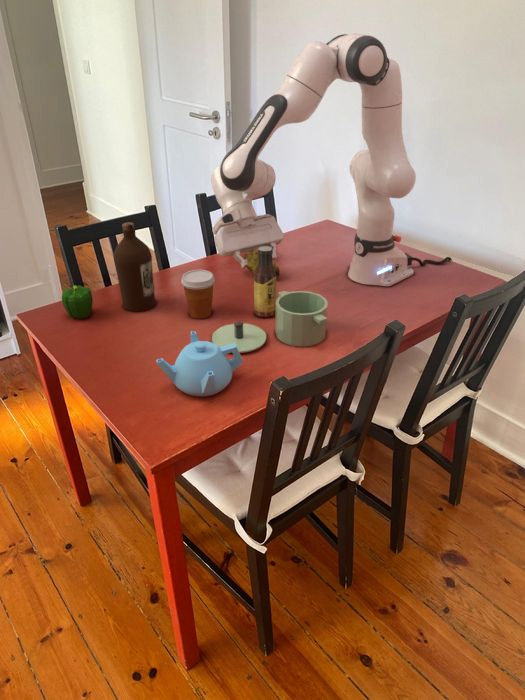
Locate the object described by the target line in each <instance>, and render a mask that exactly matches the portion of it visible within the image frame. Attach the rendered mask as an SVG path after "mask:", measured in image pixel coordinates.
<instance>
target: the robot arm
mask: <svg viewBox="0 0 525 700" xmlns="http://www.w3.org/2000/svg"><path fill="white" fill-rule="evenodd" d="M400 69H401V68H400V66H399V63H398V62H397V61H396V60H394V59H392V58H389V57H388V54H387V50H386V48H385V46H384V43H382V42H381V40H380V39H378V38H376V37H374V36H372V35H368V34H367V35H366V34H362V33H351V34H349V33H348V34H347V33H346V34H345V33H343V34H339V35H337V36H335V37H333V38H332V39H330V40H329V41H328V42H327V43H325V42H322V41H318V40H317V41H311V42H309V43H308V44H306V45H305V46H304V48H303V49H302V50H301V52H300V53H299V55H298V56H297V57H296V58H295V60H294V61H293V63H292V65H291V66H290V68H289V70H288V72H287V73H286V76H285V77H284V79H283V81H282V82H281V84H280V86H279V87H278V88H277V90H276V91H275V92H274V93H273V94H272V96H270V97H269V98H267V100H265V102H264V103H263V104H262V106H261V107H260V108H259V110H258V112H257V113H256V115H255V116H254V118H253V119H252V121H251V122H250V124H249V125H248V127H247V128H246V130H245V131H244V132H243V134H242V136H241V138H240V139H239V140H238V142H237V143H236V144H235V146H233V148H231V149H230V150H229V151H228V152H227V153H226V155H224V157H223V159H222V161H221V163H220V165H218V166H217V167H215V169H214V170H213V171H212V173H211V176H210V183H211V188H212V190H213V193H214V197H215V200H216V201H217V203H218V205H219V206H220V207H221V208H220V209H221V210H222V216H220V217H219V218H218V219H217V220H216V222H215V223H214V225H213V226H212V233H213V235H214V244H215V247H216V250H217V253H218V255H219V256H220V257H223V258H226V257H231V256H232V257H233V259H234V260H235V261H237V262H238V263H239V264H240V266H241V268H242V269H244V268H247V266H248V262H247V259H244V257H242V256H241V254H243V253H247V252H248V251H251V250H256V249H258V248H259V247H262V246H269V247H271V248H272V249H273V253H272V261H276V260H277V258H278V255H277V253H276V250H277V245H279V244H281V243H282V242H283V241H284V238H285V235H284V233H283V231H282V229H281V227H280V225H279V224H278V222H277V219H276V217H275V216H273V215H271V214H269V213H266V214H262V215H258V214H257V212H256V209H255V207H254V205H253V203H252V201H254V200H258V199H260V198H262V197H264V196H266V195H268V194H270V192H272V190H273V189H274V186H275V184H276V171H275V169H274V168H273V166H272V165H270V164H269V163H267V162H265V161H264V160H262V159H259V156H260V155H261V154H262V152H263V150H264V149H265V147H266V146H267V144H268V143H269V141H270V140H271V138H272V137H273V135H274V133H275V132H276V131H277V130H278V129H280V128H281V127H283V126H286V125H290V124H300V123H303V122H306V121H307V120H309V119H310V118H311V117H312V116H313V114H314V113H315V112H316V110H317V109H318V107H319V105H320V103H321V101H322V100H323V99H324V96H325V95H326V93H327V91H328V88H329V87H330V86H331V84H332V83H333V82H334V81H335V80H342V81H343V82H347V83H357V84H358V85H359V87H360V90H361V135H362V138H363V139H364V141H365V143H366V146H367V149H362V150H359V151H358V152H356V153H355V154H354V155H353V156H352V158H351V160H350V163H349V173H350V176H351V177H352V180H353V183H354V188H355V193H356V194H355V195H356V200H357V209H358V210H357V213H358V214H357V225H356V226H357V227H356V232H355V234H354V243H353V245H354V249H353V253H352V259H351V263H350V264H349V269H348V273H347V277H348V278H349V279H350V280H351V281H353V282H356V283H358V284H362V285H366V286H367V285H368V286H381V287H391V286H393V285H395V284H398V283H399V282H401V281H403V280H405V279H406V278H407V279H408V278H409V277H410V276H412V275H414V269H413V268H412V267H410V266H412V264H413V261H416V262H417V263H418V264H419V265H420V266H425V264H426V263H430V264H434V265H443V264H444V263H446V262H447V261H449V262H452V261H453V259H452V258H451V257H450V256H446V257H445V258H444V259H442V260H439V261H437V260H432V259H423V261H422V259H420V258H418V257H413V256H412V255H410V254H409V253H406V252H403V251H402V249H400V248H399V247H397V246H396V245H395V242H396V243H401V241H402V236H400V235H397V234H396V235H394V234H393V231H394V224H395V223H394V222H395V209H394V206H393V204H392V202H391V199H402V198H404V197H406V196H408V195H409V194H410V193H411V192H412V191H413V189H414V187H415V184H416V182H417V181H416V180H417V175H416V171H415V170H414V168H413V166H412V165H411V162H410V160H409V158H408V154H407V151H406V146H405V142H404V141H405V140H404V137H403V83H402V82H403V81H402V76H401V75H402V74H401V70H400Z"/></svg>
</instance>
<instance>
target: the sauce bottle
mask: <svg viewBox="0 0 525 700" xmlns="http://www.w3.org/2000/svg"><path fill="white" fill-rule="evenodd" d="M272 253H273V249H272V248H271V247H269V246H262V247H259V248H258V254H259V261H258V263H259V264H258V266H257V267H256V269H255V275H254V279H253V282H254V283H253V293H254V294H253V307H254V308H253V309H254V314H255V315H256V316H257V317H260V318H269V317H273V316H275V315H276V300H277V277H276V273H275V270H274V267H273V264H272V261H273V260H272Z"/></svg>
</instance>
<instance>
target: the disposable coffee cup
mask: <svg viewBox="0 0 525 700" xmlns="http://www.w3.org/2000/svg"><path fill="white" fill-rule="evenodd" d="M215 281H216V278H215V276H214V274H213V272H211V271H210V270H207V269H191V270H188V271H186V272H185V273H183V274H182V277H181V279H180V282H181V285H182V286H183V290H184V294H185V299H186V303H187V309H188V312H189V316H190V317H191V318H192V319H206V318H209V317H210V316H211V315H212V308H213V298H214V297H213V295H214V284H215Z"/></svg>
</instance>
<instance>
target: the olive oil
mask: <svg viewBox="0 0 525 700" xmlns="http://www.w3.org/2000/svg"><path fill="white" fill-rule="evenodd" d="M121 227H122V229H121V230H122V235H123V237H122V239H121V241H119V243H118V244H117V245H116V246H115V248H114V251H113V262H114V267H115V272H116V276H117V281H118V286H119V291H120V295H121V300H122V306H123V308H124V309H125V310H127V311H129V312H144V311H148V310H150V309H152V308H153V307H154V306H155V304H156V297H155V296H156V295H155V283H154V272H153V256H152V252H151V250H150V248H149V246H148V245H147V244H146V242H144V241H143V240H141V239H140V238H139V237H137V235H136V228H135V223H134V222H130V221H128V222H123V223H122V225H121Z"/></svg>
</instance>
